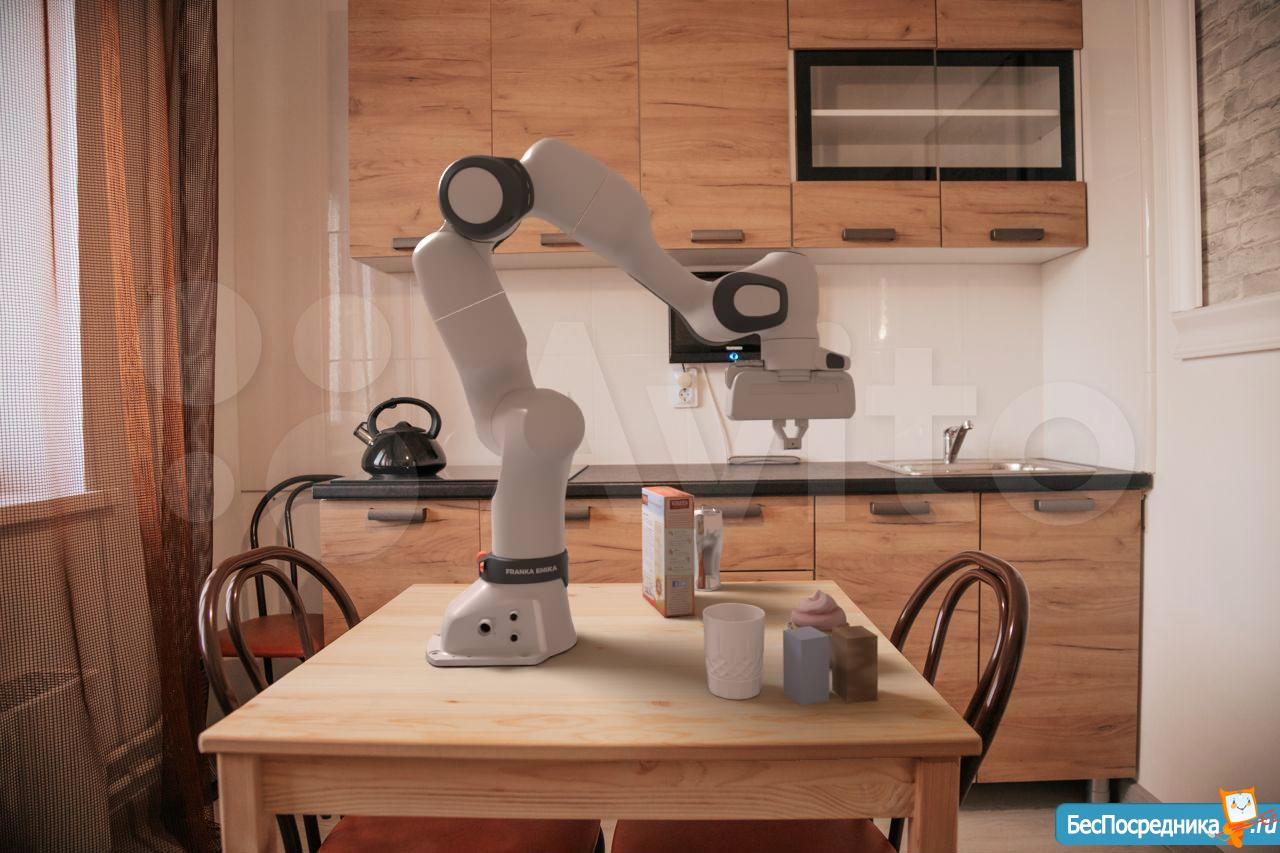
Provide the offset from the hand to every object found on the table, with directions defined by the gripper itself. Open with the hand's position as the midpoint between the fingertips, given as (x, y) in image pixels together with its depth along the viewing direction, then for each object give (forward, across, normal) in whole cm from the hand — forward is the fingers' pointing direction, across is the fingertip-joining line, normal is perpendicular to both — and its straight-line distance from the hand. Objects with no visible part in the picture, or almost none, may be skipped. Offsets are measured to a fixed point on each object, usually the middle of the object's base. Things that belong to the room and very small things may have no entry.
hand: (790, 449), depth 107 cm
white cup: (+30, -15, -17) cm, 37 cm away
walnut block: (+29, -1, -22) cm, 37 cm away
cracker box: (+29, -15, +20) cm, 39 cm away
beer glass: (+29, -5, +30) cm, 42 cm away
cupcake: (+29, 0, -10) cm, 31 cm away
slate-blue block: (+29, -7, -21) cm, 37 cm away
